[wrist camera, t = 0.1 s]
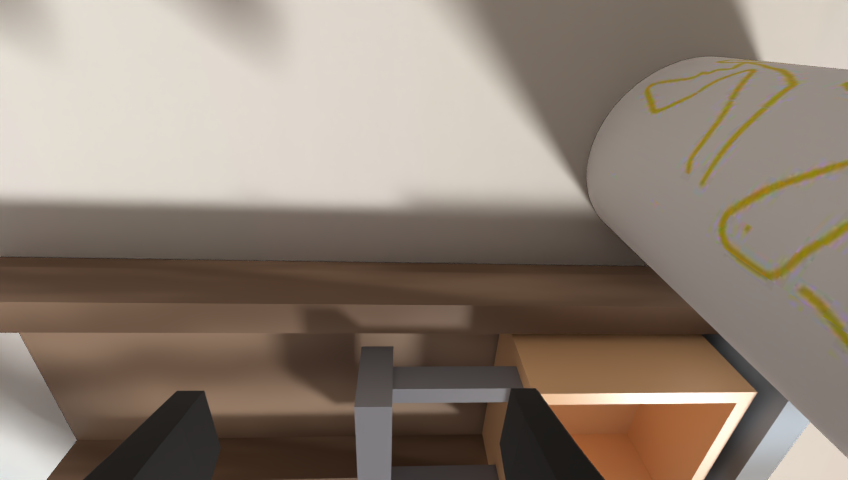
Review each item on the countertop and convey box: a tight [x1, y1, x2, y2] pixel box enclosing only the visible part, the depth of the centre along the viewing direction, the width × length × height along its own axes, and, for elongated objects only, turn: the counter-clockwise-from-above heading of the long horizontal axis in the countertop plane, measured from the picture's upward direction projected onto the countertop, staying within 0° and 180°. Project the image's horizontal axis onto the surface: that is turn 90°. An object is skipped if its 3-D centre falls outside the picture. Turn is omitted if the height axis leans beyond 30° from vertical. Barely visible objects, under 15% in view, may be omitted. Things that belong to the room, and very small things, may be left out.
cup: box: [587, 56, 848, 458], centre depth 12 cm, size 8×8×12 cm
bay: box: [0, 257, 810, 480], centre depth 19 cm, size 13×34×7 cm, turn 87°
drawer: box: [354, 334, 757, 480], centre depth 20 cm, size 9×16×5 cm, turn 87°
